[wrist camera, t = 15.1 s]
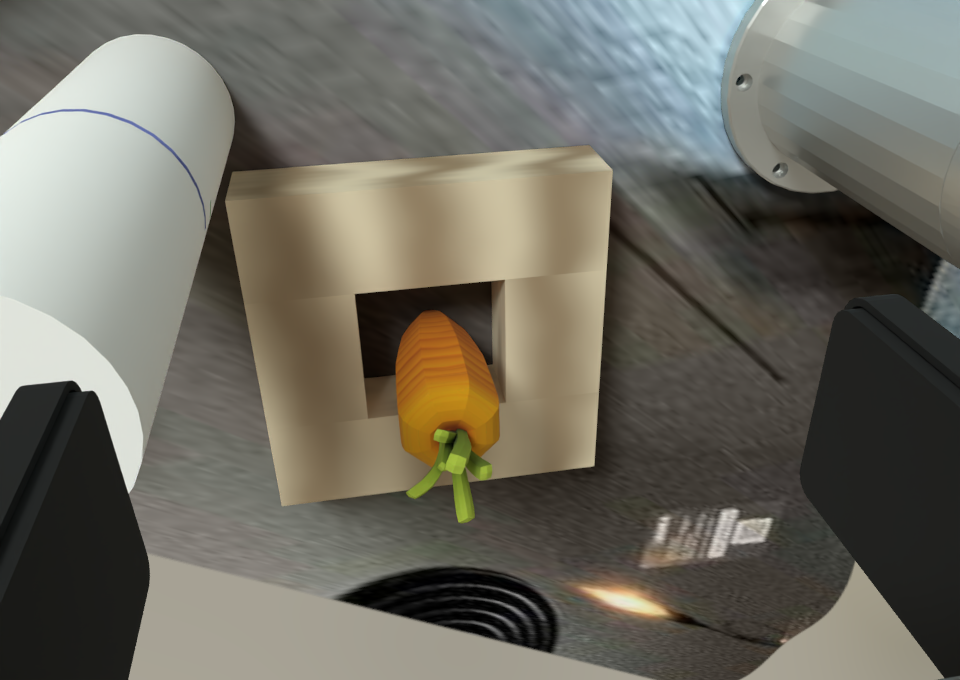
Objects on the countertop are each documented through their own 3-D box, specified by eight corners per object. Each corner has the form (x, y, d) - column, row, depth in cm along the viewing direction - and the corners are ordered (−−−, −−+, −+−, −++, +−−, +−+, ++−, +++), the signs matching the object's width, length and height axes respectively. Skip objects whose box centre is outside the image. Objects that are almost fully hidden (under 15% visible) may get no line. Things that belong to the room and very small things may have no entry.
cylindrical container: (217, 27, 37) (91, 262, 16) (248, 179, 41) (177, 533, 20) (50, 41, 37) (-314, 307, 15) (97, 195, 40) (-146, 582, 19)
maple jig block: (589, 145, 43) (612, 170, 40) (576, 426, 52) (594, 466, 49) (232, 171, 41) (224, 201, 37) (284, 461, 50) (282, 506, 47)
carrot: (455, 361, 48) (498, 547, 36) (372, 341, 47) (387, 528, 34) (485, 287, 46) (542, 458, 34) (399, 264, 45) (425, 434, 32)
